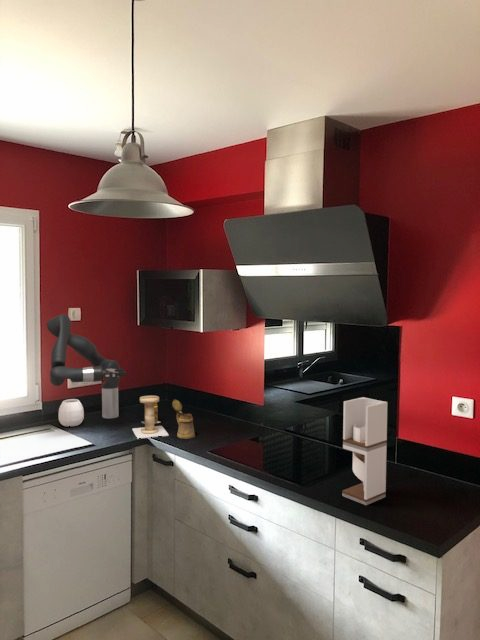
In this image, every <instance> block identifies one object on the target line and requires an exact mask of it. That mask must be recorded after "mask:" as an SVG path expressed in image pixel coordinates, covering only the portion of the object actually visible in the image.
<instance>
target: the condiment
mask: <svg viewBox="0 0 480 640" xmlns="http://www.w3.org/2000/svg"><path fill="white" fill-rule="evenodd" d="M158 408H159V407H158V402H157V403H154V416H155V424H159V423H160V421H159V420H158V419H159V417H158V415H159V413H158V412H159V411H158ZM141 424H143V425H145V420H144V421H141Z"/></svg>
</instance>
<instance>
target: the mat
mask: <svg viewBox="0 0 480 640" xmlns="http://www.w3.org/2000/svg"><path fill="white" fill-rule="evenodd" d="M155 427H156V428H158V429H159V432H157V433H155V434H143V433H141V429H142V428H145V426H144V427H143V426H142V427H134V428H131V429H132V432H133V434H134V435H135V437H137V438H136V439H137V440H140V439H139V438H141V439H149V438H151V437H152V438H159V437H158V436H162V437H168V436H170V434H169V433H168V432H167V430H166V429H165V428H164V427H163V425H156V426H155Z"/></svg>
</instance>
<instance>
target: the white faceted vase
mask: <svg viewBox="0 0 480 640" xmlns="http://www.w3.org/2000/svg"><path fill="white" fill-rule="evenodd" d="M84 416H85V411H84V406H83V404H82V403H81V401H80V400H79V399H77V398H70V399H69V398H68V399H65V400H62V402H61V404H60V406H59V408H58V422H59V423H60V424H61V425H62V426H64V427H69V426H70V427H77V426H79V425H81V424H82V422H83V420H84V419H85V417H84Z"/></svg>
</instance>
